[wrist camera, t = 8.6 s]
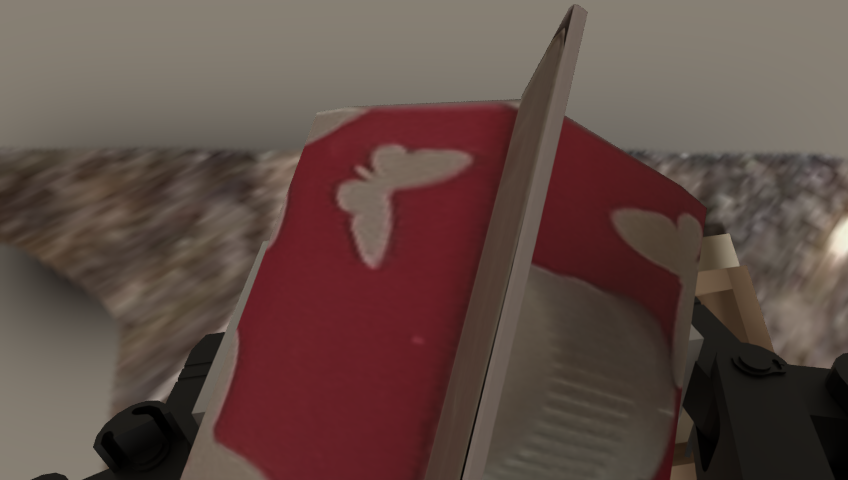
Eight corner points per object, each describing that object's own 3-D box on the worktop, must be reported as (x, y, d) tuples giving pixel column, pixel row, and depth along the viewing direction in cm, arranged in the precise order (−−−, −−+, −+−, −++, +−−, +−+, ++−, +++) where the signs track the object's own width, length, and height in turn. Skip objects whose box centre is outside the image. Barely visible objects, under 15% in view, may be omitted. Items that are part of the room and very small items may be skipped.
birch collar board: (721, 236, 39) (774, 215, 33) (800, 490, 34) (879, 518, 28) (493, 268, 38) (507, 252, 32) (541, 532, 33) (568, 571, 27)
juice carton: (507, 310, 25) (943, 87, 4) (478, 432, 24) (941, 1162, 2) (394, 279, 26) (236, -73, 4) (359, 396, 24) (-148, 737, 3)
